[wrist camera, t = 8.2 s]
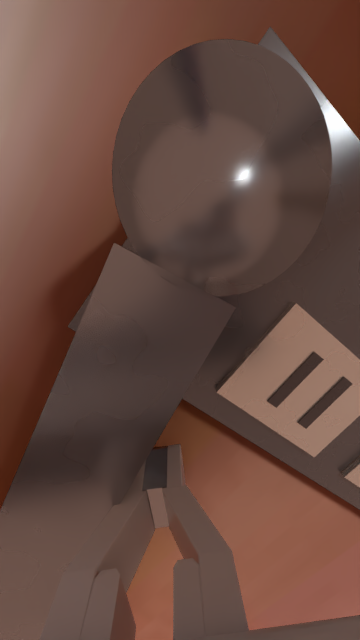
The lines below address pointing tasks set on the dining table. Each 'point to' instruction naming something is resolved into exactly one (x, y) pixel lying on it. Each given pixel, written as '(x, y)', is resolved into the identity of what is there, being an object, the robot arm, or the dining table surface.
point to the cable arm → (163, 290)
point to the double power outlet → (298, 337)
